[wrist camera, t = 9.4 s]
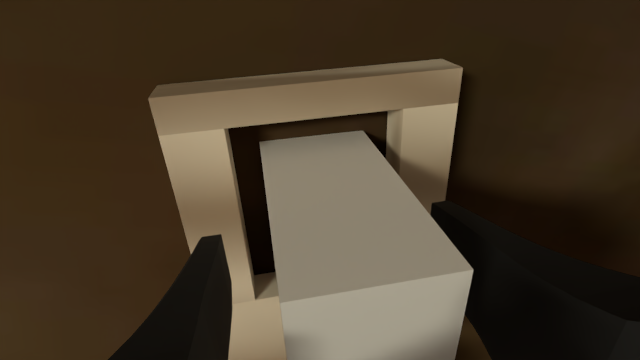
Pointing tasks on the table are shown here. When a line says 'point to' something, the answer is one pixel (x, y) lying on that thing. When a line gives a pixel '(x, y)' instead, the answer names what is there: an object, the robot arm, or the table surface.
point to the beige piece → (283, 106)
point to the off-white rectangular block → (358, 255)
